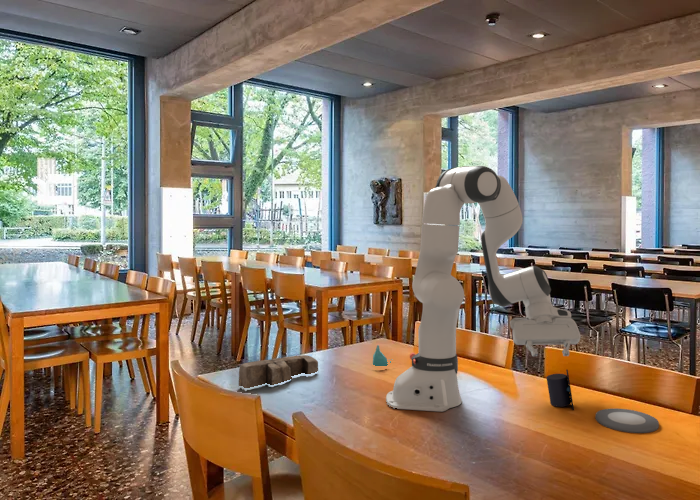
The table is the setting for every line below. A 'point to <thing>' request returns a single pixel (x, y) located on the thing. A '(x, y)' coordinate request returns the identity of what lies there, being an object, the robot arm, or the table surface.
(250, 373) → the sculpture
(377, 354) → the teal tapered piece
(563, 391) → the speaker
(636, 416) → the speaker stand
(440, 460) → the table surface
